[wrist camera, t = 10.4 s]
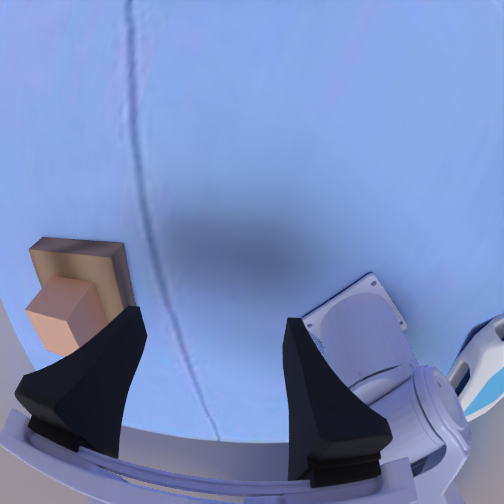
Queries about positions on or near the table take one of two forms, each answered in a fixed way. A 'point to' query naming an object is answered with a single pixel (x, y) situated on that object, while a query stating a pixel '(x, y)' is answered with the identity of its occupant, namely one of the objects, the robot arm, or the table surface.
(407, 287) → the table surface
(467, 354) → the white step stool
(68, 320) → the cube
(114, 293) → the base block
